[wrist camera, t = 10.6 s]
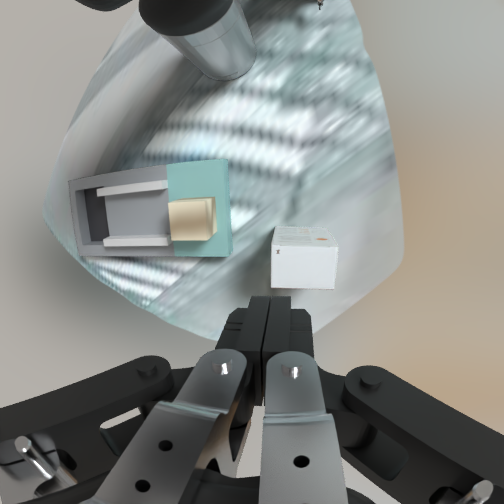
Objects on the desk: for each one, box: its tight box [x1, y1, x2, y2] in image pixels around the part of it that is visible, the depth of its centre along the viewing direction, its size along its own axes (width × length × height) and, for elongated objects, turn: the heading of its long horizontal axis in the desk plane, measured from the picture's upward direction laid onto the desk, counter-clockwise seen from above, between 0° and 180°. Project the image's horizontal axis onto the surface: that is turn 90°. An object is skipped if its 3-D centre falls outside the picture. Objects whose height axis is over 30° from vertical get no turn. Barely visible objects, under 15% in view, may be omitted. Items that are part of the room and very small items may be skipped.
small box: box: [271, 226, 339, 290], centre depth 38 cm, size 8×6×10 cm
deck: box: [68, 159, 233, 257], centre depth 42 cm, size 14×29×5 cm, turn 93°
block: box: [168, 197, 217, 241], centre depth 38 cm, size 5×5×5 cm
